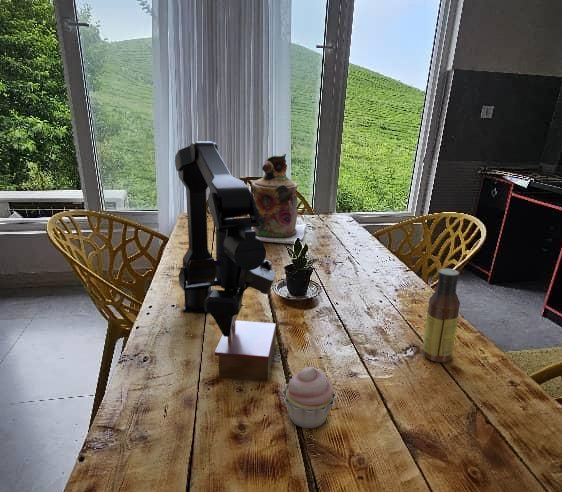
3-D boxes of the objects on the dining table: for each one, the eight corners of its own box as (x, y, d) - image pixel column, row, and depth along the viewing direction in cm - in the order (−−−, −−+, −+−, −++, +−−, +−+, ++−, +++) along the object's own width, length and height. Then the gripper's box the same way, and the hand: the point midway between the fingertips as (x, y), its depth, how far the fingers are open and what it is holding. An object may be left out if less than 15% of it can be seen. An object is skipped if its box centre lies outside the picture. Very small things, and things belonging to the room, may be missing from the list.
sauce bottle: (451, 352, 99) (468, 268, 91) (451, 366, 93) (469, 279, 86) (420, 346, 101) (435, 264, 93) (419, 360, 95) (434, 274, 88)
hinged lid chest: (218, 377, 87) (218, 356, 85) (232, 342, 99) (232, 323, 97) (267, 381, 86) (268, 360, 84) (275, 345, 98) (275, 326, 97)
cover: (214, 355, 85) (213, 331, 83) (228, 322, 97) (228, 301, 96) (268, 360, 84) (269, 336, 82) (275, 326, 97) (276, 305, 95)
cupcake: (319, 444, 71) (324, 392, 67) (270, 421, 75) (272, 371, 72) (344, 412, 78) (349, 364, 75) (298, 393, 83) (301, 347, 79)
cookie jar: (250, 224, 192) (251, 148, 180) (306, 229, 189) (311, 151, 177) (237, 241, 169) (237, 155, 157) (301, 246, 166) (306, 158, 154)
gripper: (267, 272, 75) (265, 352, 81) (278, 240, 92) (275, 308, 98) (202, 268, 76) (204, 347, 82) (225, 237, 93) (226, 304, 99)
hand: (231, 325), depth 90 cm, fingers open, 9 cm apart
